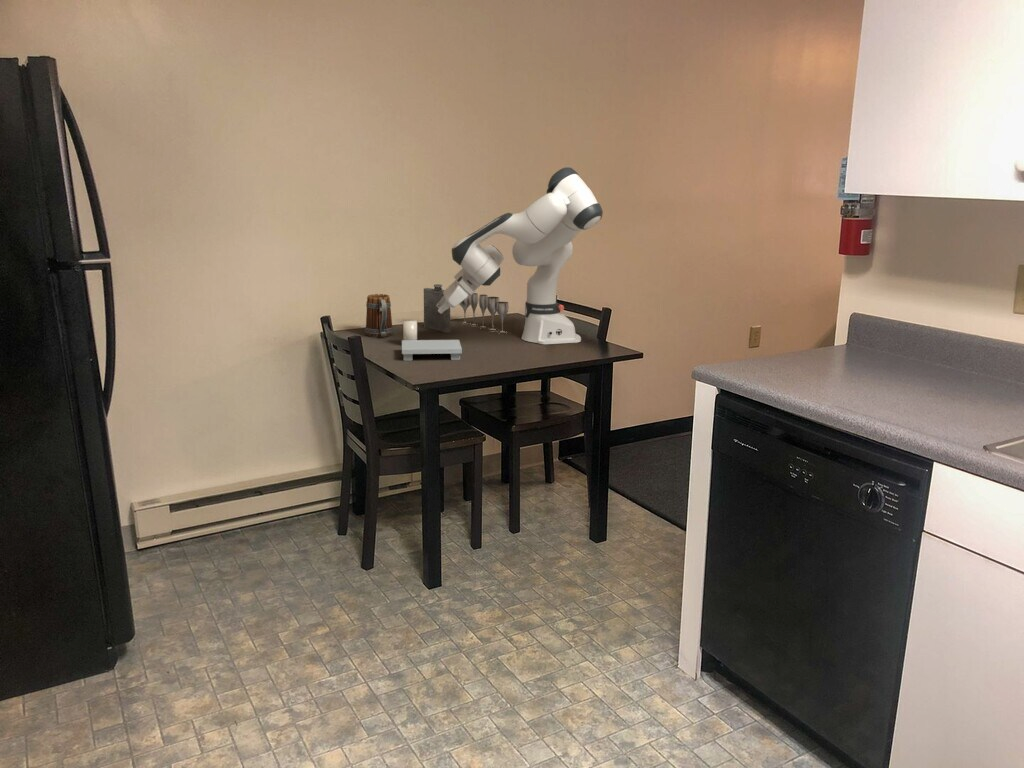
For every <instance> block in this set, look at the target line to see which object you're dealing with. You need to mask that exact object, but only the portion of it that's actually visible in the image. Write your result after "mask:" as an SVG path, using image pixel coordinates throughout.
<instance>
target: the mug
mask: <svg viewBox="0 0 1024 768" xmlns="http://www.w3.org/2000/svg"><path fill="white" fill-rule="evenodd" d="M365 303H366V313H365V314H366V318H365V319H366V320H365V329H364V332H365V335H366V336H368V337H369V338H370V337H371V338H387V337H391V336H392V335H393V334H394V327H393V319H392V309H391V307H392V304H391V300H390V295H389V294H384V293H379V294H378V293H374V294H368V295H367V298H366V302H365Z"/></svg>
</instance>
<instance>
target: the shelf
mask: <svg viewBox="0 0 1024 768" xmlns="http://www.w3.org/2000/svg"><path fill="white" fill-rule="evenodd" d="M462 353H463V348H462V345H461V342H460V339H417V340H403V339H401V354H402V355H403V361H407V362H408V361H413V360H414V359H413V355H432V354H433V355H435V354H437V355H439V354H440V355H442V354H443V355H445V354H446V355H447V354H449V357H450V356H451V357H450V359H451V361H460V360H461V354H462Z"/></svg>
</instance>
